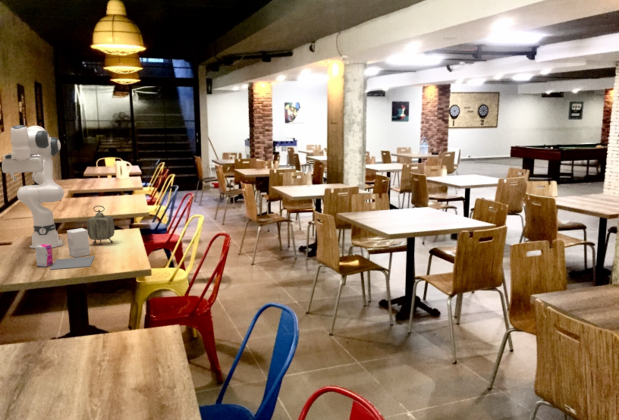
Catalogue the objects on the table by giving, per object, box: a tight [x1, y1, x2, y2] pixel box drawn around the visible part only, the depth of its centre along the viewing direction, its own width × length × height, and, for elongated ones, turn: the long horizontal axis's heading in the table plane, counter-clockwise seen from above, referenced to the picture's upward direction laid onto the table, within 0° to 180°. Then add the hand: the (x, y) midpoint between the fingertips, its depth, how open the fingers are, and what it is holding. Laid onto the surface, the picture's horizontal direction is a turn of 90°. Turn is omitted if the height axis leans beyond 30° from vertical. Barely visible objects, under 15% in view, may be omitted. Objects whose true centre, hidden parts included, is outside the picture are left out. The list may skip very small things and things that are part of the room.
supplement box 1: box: [35, 244, 54, 268], centre depth 281 cm, size 6×6×12 cm
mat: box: [49, 255, 95, 271], centre depth 285 cm, size 20×20×1 cm
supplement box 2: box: [66, 227, 91, 258], centre depth 301 cm, size 9×9×15 cm
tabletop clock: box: [86, 205, 115, 246], centre depth 325 cm, size 14×9×25 cm, turn 92°
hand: (24, 180), depth 284 cm, fingers open, 8 cm apart
